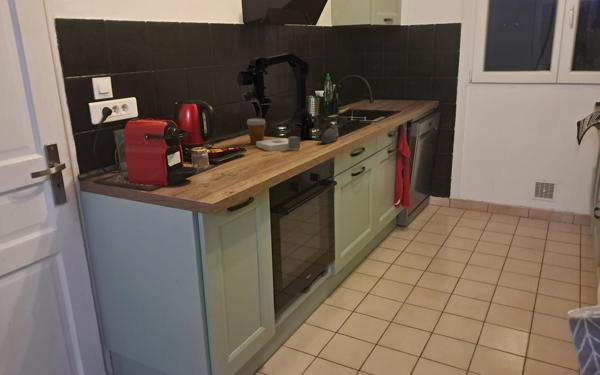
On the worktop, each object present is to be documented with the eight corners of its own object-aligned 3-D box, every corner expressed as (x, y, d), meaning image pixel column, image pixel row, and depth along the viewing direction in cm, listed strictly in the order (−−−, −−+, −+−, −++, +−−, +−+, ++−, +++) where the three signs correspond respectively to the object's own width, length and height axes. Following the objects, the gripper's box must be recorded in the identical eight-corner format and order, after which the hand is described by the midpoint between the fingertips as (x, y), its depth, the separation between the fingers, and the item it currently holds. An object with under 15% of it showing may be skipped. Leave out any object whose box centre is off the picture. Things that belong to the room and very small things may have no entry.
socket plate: (284, 142, 249) (284, 136, 248) (298, 147, 238) (298, 140, 237) (256, 146, 241) (256, 139, 240) (270, 151, 230) (269, 144, 229)
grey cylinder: (295, 148, 235) (295, 136, 233) (300, 149, 232) (300, 137, 230) (288, 149, 233) (288, 137, 231) (293, 151, 230) (292, 138, 228)
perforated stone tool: (326, 145, 241) (326, 131, 239) (317, 144, 244) (317, 130, 242) (341, 140, 253) (341, 127, 251) (332, 139, 256) (332, 126, 254)
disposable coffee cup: (269, 141, 252) (268, 118, 249) (262, 145, 243) (261, 121, 240) (251, 141, 255) (250, 118, 251) (244, 144, 246) (243, 121, 243)
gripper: (237, 84, 240) (238, 116, 244) (248, 86, 223) (250, 121, 227) (258, 83, 244) (260, 114, 248) (271, 85, 227) (272, 119, 232)
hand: (260, 117), depth 239 cm, fingers open, 9 cm apart
